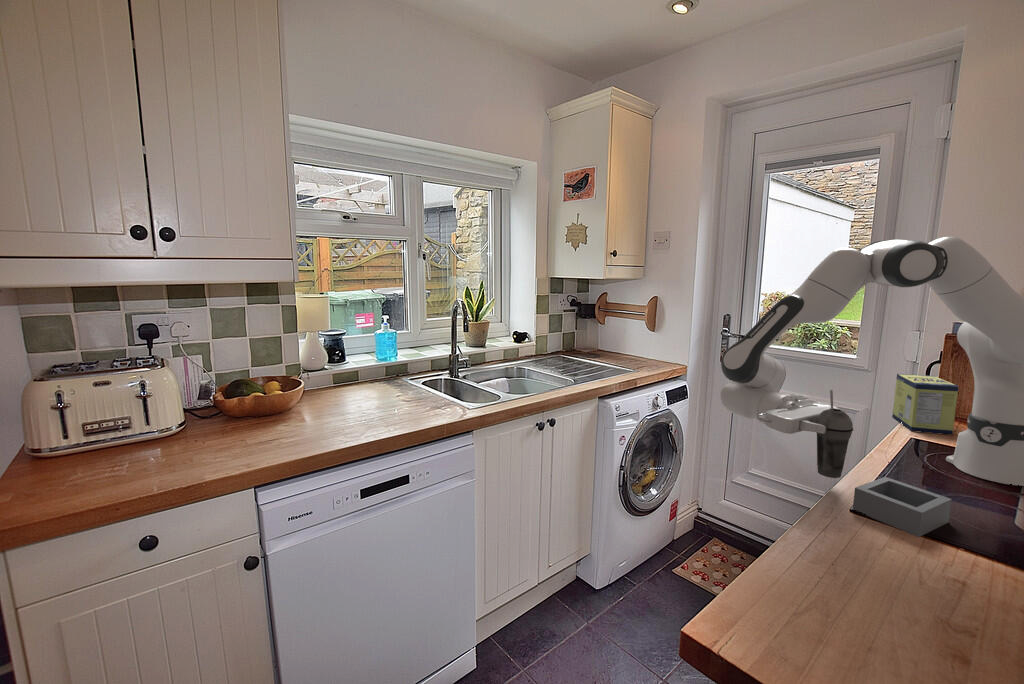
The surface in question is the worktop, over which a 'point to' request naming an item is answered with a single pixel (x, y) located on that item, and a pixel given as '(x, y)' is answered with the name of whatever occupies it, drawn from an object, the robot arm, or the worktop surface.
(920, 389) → the protein box
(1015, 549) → the worktop surface
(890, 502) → the holder block
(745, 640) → the worktop surface
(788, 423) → the robot arm
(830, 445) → the beverage cup
